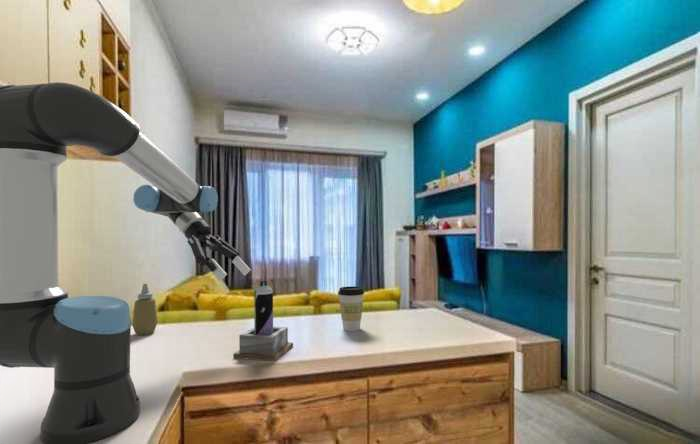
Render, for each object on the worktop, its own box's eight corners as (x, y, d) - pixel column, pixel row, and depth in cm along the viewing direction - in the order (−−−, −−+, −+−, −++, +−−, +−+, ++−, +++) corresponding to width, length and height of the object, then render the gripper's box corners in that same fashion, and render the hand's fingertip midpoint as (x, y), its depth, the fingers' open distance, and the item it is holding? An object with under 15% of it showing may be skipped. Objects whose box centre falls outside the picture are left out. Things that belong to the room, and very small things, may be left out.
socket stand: (275, 360, 99) (275, 338, 99) (233, 357, 102) (233, 336, 102) (293, 346, 112) (292, 326, 112) (255, 344, 115) (255, 324, 115)
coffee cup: (355, 333, 125) (355, 290, 125) (333, 330, 130) (332, 289, 131) (369, 327, 133) (369, 287, 134) (347, 324, 138) (347, 285, 139)
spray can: (261, 352, 103) (260, 282, 104) (251, 348, 107) (250, 281, 107) (277, 347, 107) (276, 280, 108) (266, 343, 111) (266, 279, 111)
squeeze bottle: (146, 336, 125) (146, 285, 126) (126, 336, 127) (126, 285, 127) (162, 330, 133) (162, 282, 133) (144, 330, 134) (144, 282, 135)
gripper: (210, 235, 127) (249, 278, 122) (157, 236, 102) (203, 289, 98) (224, 220, 125) (263, 263, 121) (173, 217, 101) (220, 270, 97)
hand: (236, 275), depth 110 cm, fingers open, 13 cm apart
